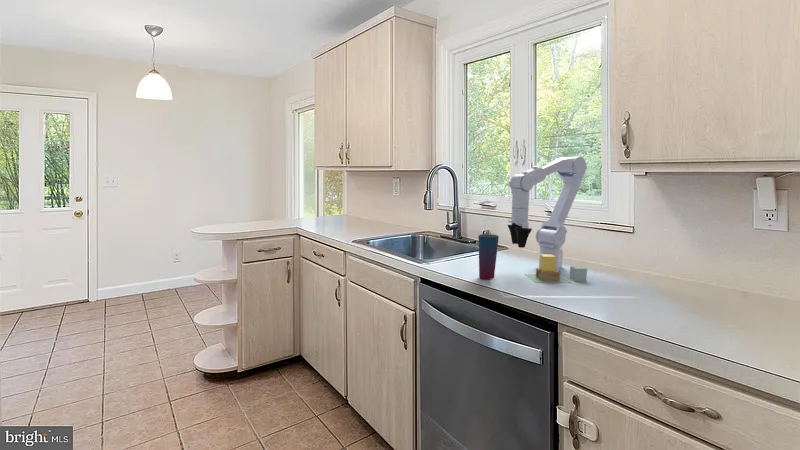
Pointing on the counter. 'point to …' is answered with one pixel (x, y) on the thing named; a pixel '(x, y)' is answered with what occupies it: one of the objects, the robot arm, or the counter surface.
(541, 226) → the robot arm
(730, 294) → the counter surface
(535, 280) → the baseplate
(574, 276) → the brick
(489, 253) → the cup
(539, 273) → the base brick
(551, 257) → the mustard brick
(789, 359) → the counter surface
